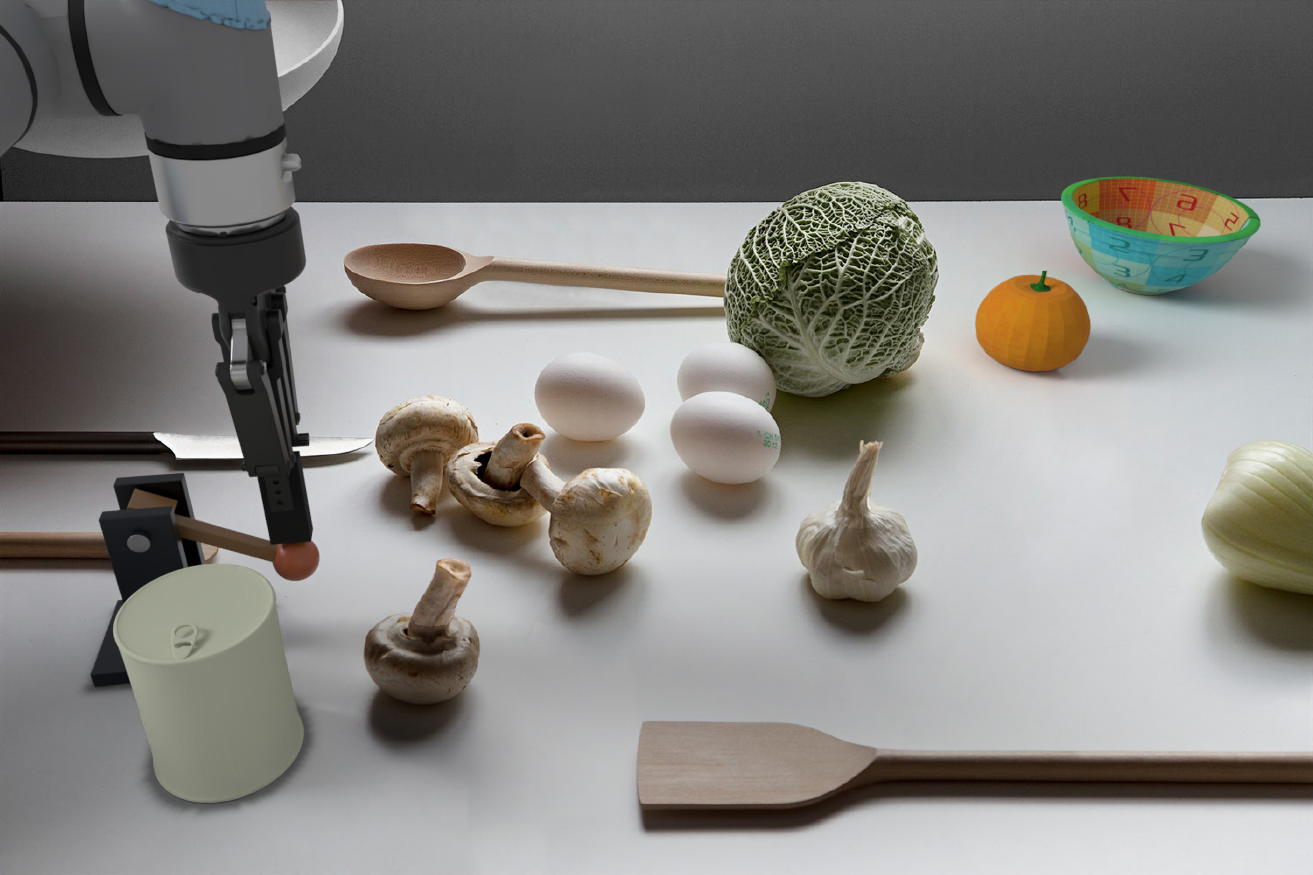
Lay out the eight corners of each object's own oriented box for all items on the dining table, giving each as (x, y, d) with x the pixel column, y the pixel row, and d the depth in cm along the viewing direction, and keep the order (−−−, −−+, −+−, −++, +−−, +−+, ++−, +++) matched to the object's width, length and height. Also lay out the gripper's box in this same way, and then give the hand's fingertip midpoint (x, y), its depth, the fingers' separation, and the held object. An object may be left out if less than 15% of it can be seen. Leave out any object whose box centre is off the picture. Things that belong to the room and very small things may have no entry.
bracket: (260, 599, 86) (230, 457, 79) (245, 672, 79) (211, 524, 72) (121, 612, 84) (78, 468, 78) (94, 687, 78) (44, 537, 71)
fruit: (976, 326, 129) (992, 243, 124) (1084, 344, 125) (1104, 259, 120) (962, 371, 119) (978, 283, 114) (1078, 391, 116) (1100, 302, 111)
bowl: (1026, 295, 136) (1042, 216, 131) (1066, 237, 153) (1081, 164, 148) (1226, 338, 127) (1252, 255, 122) (1245, 270, 144) (1268, 195, 139)
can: (139, 812, 69) (91, 664, 62) (170, 703, 76) (130, 562, 70) (296, 795, 70) (264, 648, 64) (311, 689, 78) (283, 550, 72)
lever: (312, 567, 82) (327, 533, 81) (308, 595, 80) (324, 561, 78) (125, 515, 77) (138, 479, 76) (114, 543, 75) (127, 506, 74)
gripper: (285, 251, 61) (341, 591, 74) (308, 174, 72) (353, 481, 85) (140, 258, 60) (221, 601, 73) (185, 178, 71) (248, 489, 84)
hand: (292, 536), depth 79 cm, fingers closed
